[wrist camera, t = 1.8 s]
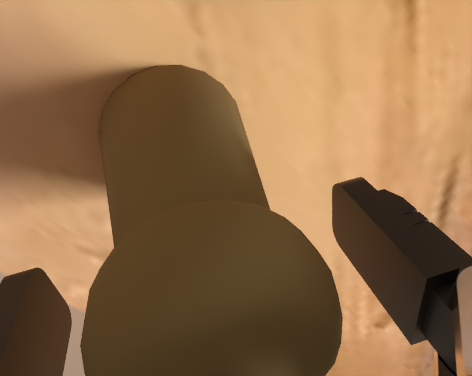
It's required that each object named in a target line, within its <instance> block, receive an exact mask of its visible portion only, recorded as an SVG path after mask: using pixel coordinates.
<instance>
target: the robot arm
mask: <svg viewBox="0 0 472 376" xmlns="http://www.w3.org/2000/svg"><path fill="white" fill-rule="evenodd" d="M332 227H333V232H334V236H335V238H336V241H337V243H338V245H339V246H340V248H341V249H342V250H343V252H344V253H345V255H346V256H347V257H348V259H349V260H350V261H351V263H352V264H353V266H354V267H355V268H356V270H357V271H358V272H359V274H360V275H361V277H362V278H363V279H364V281H365V282H366V283H367V285H368V286H369V288H370V289H371V290H372V292H373V293H374V294H375V296H376V297H377V299H378V300H379V301H380V303H381V304H382V305H383V307H384V308H385V310H386V311H387V312H388V314H389V315H390V316H391V318H392V319H393V321H394V322H395V323H396V325H397V326H398V327H399V329H400V330H401V332H402V333H403V334H404V336H405V337H406V338H407V340H408V341H409V343H410V344H411V345H413V344H416V343H419V342H422V341H424V340H428V341H429V342H430V344H431V345H432V346H433V348H434V349H435V352H434V376H472V257H471V256H470V255H469V254H467V253H466V252H465V251H464V250H463V249H462V248H460V247H459V246H458V245H457V244H456V243H455V242H454V241H452V240H451V239H450V238H449V237H448V236H447V235H445V234H444V233H443V232H442V231H441V230H440V229H439V228H437V227H436V226H435V225H434V224H433V223H432V222H430V223H429V221H428V219H427V218H426V217H425V216H424V215H422V214H421V213H420V212H417V209H415V208H414V207H413V206H412V205H411V204H410V203H409V202H407V201H406V200H405V199H404V198H403V197H401V196H398V195H396V194H394V193H392V192H389V191H387V190H385V189H383V190H379V191H377V190H376V189H375V188H374V187H373V186H372V185H371V184H369V183H368V182H367V181H366V180H365V179H364V178H362V177H358V178H355V179H351V180H348V181H344V182H341V183H337V184H335V185H334V186H333V189H332ZM71 322H72V321H71V313H70V309H69V307H68V305H67V303H66V301H65V300H64V299H63V297H62V296H61V294H60V293H59V292H58V290H57V289H56V287H55V286H54V284H53V283H52V282H51V280H50V279H49V277H48V276H47V275H46V273H45V272H44V271H43V270H42V269H41V268H34V269H30V270H27V271H23V272H19V273H16V274H12V275H9V276H6V277H4V278H3V280H2V281H1V283H0V376H62V375H63V370H64V364H65V359H66V353H67V348H68V343H69V337H70V332H71V324H72V323H71Z"/></svg>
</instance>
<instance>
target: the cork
mask: <svg viewBox="0 0 472 376" xmlns="http://www.w3.org/2000/svg"><path fill="white" fill-rule="evenodd" d="M99 136H100V144H101V151H102V159H103V166H104V174H105V181H106V189H107V197H108V204H109V212H110V219H111V227H112V234H113V242H114V249H113V250H112V252H111V253H110V255H109V256H108V258H107V259H106V260H105V262H104V263H103V265H102V266H101V268H100V270H99V272H98V274H97V276H96V278H95V280H94V282H93V284H92V286H91V288H90V291H89V296H88V302H87V308H86V314H85V320H84V327H83V332H82V339H81V345H80V346H81V353H82V359H83V365H84V372H85V375H86V376H325V375H326V374H327V373H328V371H329V370H330V369H331V367H332V366H333V365H334V363H335V361H336V357H337V354H338V351H339V348H340V344H341V334H342V312H341V307H340V302H339V297H338V293H337V290H336V286H335V283H334V279H333V276H332V273H331V270H330V269H329V267H328V266H327V264H326V262H325V261H324V259H323V258H322V256H321V255H320V253H319V252H318V250H317V249H316V248H315V247H314V246H313V245H312V243H311V242H310V241H309V240H308V239H307V237H306V236H305V235H304V234H303V233H302V231H301V230H299V229H298V228H297V227H296V226H295V225H293V224H292V223H291V222H290V221H288V220H287V219H286V218H285V217H283V216H281V215H279V214H277V213H275V212H273V211H271V210H270V208H269V205H268V201H267V198H266V195H265V192H264V189H263V186H262V182H261V179H260V176H259V173H258V170H257V167H256V164H255V160H254V157H253V154H252V151H251V148H250V145H249V141H248V138H247V135H246V132H245V129H244V126H243V123H242V119H241V116H240V113H239V110H238V107H237V104H236V101H235V100H234V99H233V97H232V96H231V95H230V93H229V92H228V91H227V89H226V88H225V87H224V85H223V84H221V83H220V82H218V81H217V80H215V79H214V78H212V77H211V76H210V75H208V74H207V73H205V72H203V71H200V70H196V69H193V68H189V67H186V66H182V65H171V66H155V67H152V68H150V69H147V70H144V71H142V72H139V73H137V74H134V75H132V76H131V77H129V78H128V79H127V80H126V81H125V82H124V83H122V84H121V85H120V86H119V87H118V88H117V89H115V90H114V91H113V93H112V95H111V97H110V98H109V100H108V102H107V104H106V106H105V107H104V109H103V111H102V117H101V124H100V130H99Z"/></svg>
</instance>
